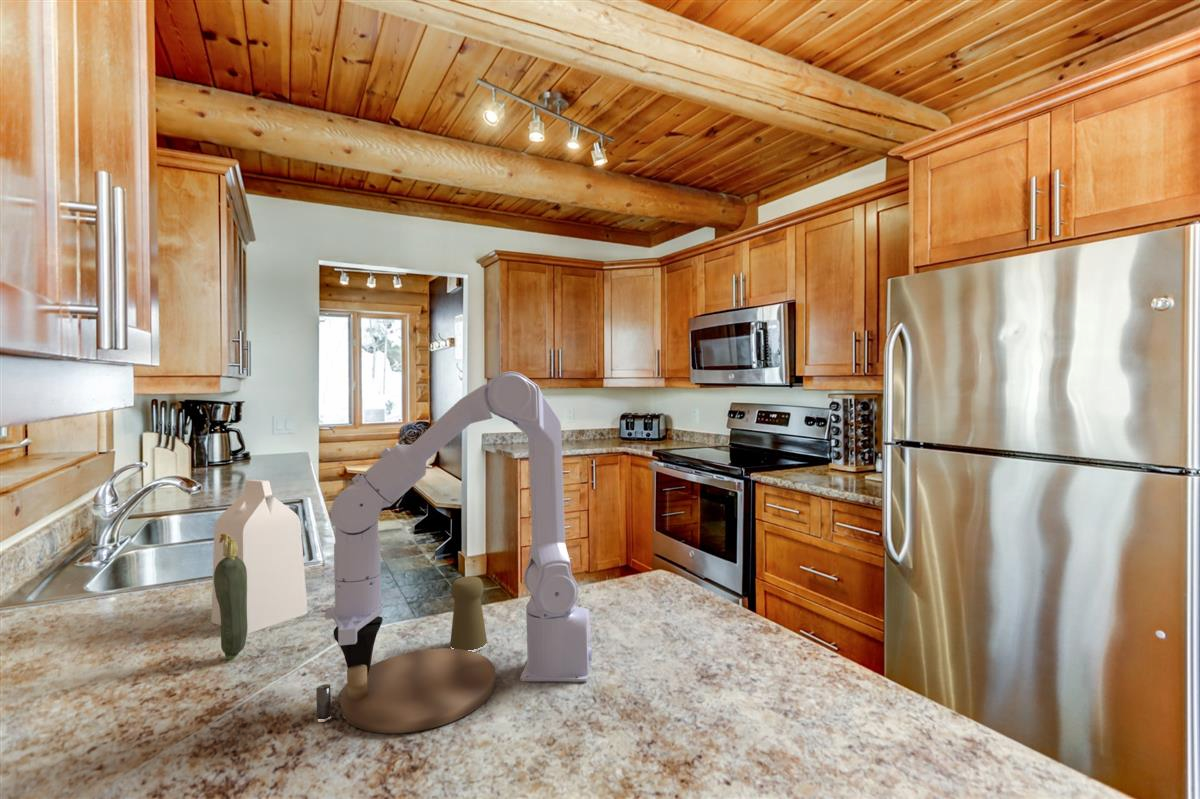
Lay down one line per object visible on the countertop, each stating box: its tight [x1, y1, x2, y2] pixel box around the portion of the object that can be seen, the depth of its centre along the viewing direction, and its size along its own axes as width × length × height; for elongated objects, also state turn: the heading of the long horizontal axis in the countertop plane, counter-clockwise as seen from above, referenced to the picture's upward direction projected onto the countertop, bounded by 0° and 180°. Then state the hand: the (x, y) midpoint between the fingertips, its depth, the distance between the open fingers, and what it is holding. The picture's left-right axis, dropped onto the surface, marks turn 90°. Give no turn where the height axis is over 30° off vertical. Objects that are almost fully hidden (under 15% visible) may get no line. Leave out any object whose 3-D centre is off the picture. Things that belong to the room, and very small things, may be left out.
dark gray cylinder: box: [315, 683, 332, 719], centre depth 77 cm, size 17×14×4 cm
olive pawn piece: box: [449, 575, 488, 651], centre depth 93 cm, size 6×6×11 cm
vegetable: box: [214, 533, 248, 661], centre depth 89 cm, size 4×4×20 cm
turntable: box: [340, 647, 496, 734], centre depth 78 cm, size 20×20×5 cm
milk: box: [211, 478, 309, 635], centre depth 108 cm, size 12×12×26 cm
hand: (359, 677), depth 76 cm, fingers closed
